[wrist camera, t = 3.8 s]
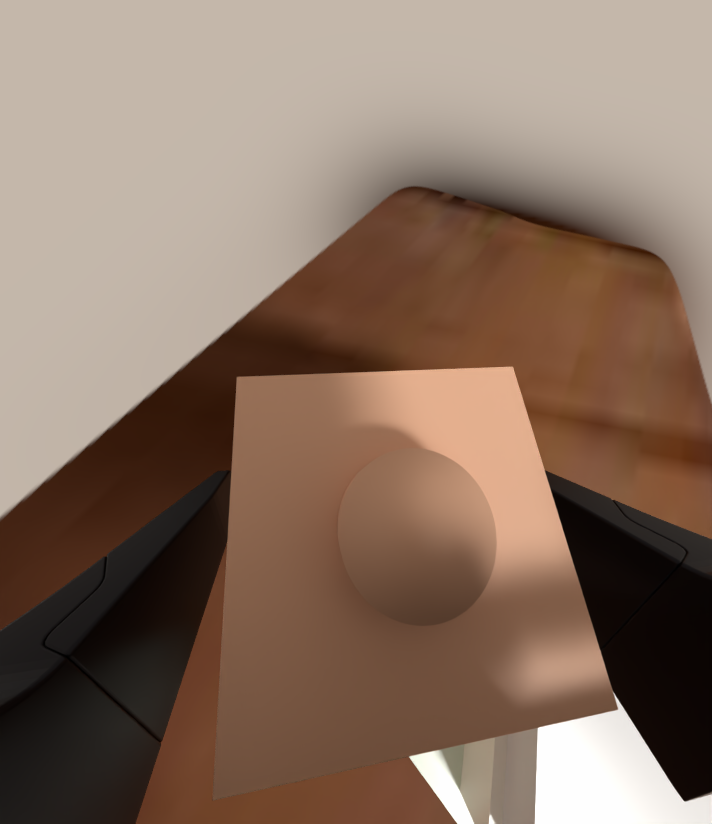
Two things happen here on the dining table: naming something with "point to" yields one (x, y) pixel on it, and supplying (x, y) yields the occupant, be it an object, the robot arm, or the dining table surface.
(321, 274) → the dining table surface
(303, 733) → the tall brick
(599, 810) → the brick stack
